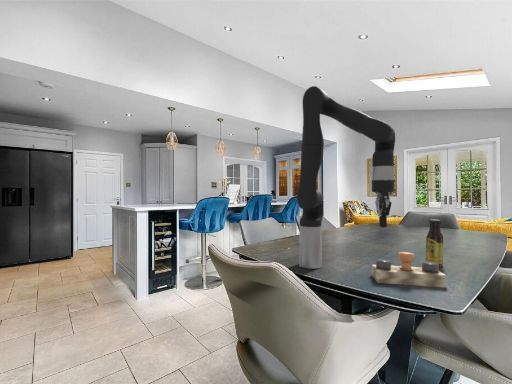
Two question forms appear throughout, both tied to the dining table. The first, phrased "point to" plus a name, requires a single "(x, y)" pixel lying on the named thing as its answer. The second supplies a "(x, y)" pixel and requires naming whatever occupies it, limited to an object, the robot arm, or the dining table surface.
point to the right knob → (430, 267)
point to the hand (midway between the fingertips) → (382, 226)
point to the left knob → (383, 264)
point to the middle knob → (406, 260)
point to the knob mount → (409, 276)
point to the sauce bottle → (434, 243)
